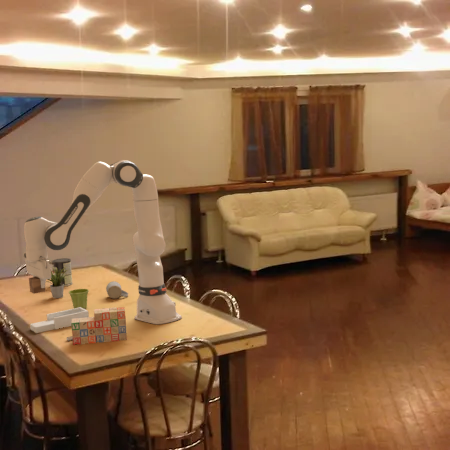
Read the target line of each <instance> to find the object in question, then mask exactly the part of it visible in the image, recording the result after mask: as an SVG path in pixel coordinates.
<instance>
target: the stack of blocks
mask: <svg viewBox="0 0 450 450" xmlns="http://www.w3.org/2000/svg"><path fill="white" fill-rule="evenodd" d="M125 309H126V308H125V306H122V307H115V306H114V307H107V308H97V309H93V316H89V317H88V318H76V319H72V322H71V325H72V326H71V336H72V338H73V340H72V345H73V346H75V344H78V345H86V344H85V343H88V344H96V342H99V343H104V342H105V343H107V342H118V341H120V342H121V341H127V340H128V338H127V322H126V320H127V319H126V311H125Z"/></svg>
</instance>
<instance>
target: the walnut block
mask: <svg viewBox="0 0 450 450" xmlns="http://www.w3.org/2000/svg"><path fill="white" fill-rule="evenodd" d="M28 281H29V282H28V285H29V292H30V293H32V294H33V295H34V294H40V293H45V292H46V287H45V288H41V287H40V284H41V281H40V278H38V277H33V276H32V277H29V278H28Z"/></svg>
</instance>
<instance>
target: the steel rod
mask: <svg viewBox="0 0 450 450" xmlns="http://www.w3.org/2000/svg"><path fill="white" fill-rule="evenodd" d="M67 340H68V341H67ZM70 340H72V341H73V338H72V335H70V336H67V337H66V341H67V342H71V341H70Z"/></svg>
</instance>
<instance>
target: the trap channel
mask: <svg viewBox="0 0 450 450" xmlns="http://www.w3.org/2000/svg"><path fill="white" fill-rule="evenodd" d="M88 317H90V316H89V310H87V309H86V308H84V309H83V308H81V307H79V308H74V307H73V308H70V309H66V310H61V311H57V312H51V313H47V314H46V319H47V320H43V321H38V322H37V321H36V322H33V323H30V324H29V327H30V328H29V329H30V330H31V331H32V332H34V333H35V334H39V333H43V332H48V331H52V330H59V328H60V329H64V328H68V327H72V325H71V322H72V319H76V318H88ZM63 327H64V328H63Z"/></svg>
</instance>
